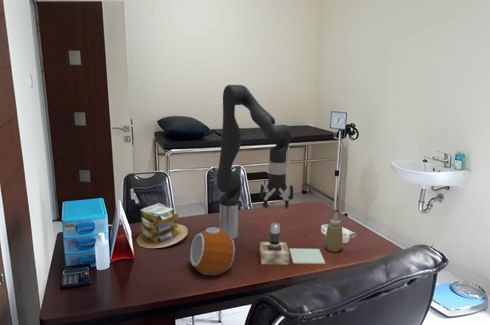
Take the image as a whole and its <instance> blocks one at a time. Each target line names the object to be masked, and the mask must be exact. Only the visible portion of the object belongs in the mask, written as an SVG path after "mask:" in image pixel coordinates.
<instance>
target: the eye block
mask: <svg viewBox="0 0 490 325" xmlns="http://www.w3.org/2000/svg"><path fill="white" fill-rule="evenodd" d="M259 256H260V264H261V265H286V266H287V265H290V250H289V247H288V244H287V242H284V241H280V243H279V251H270V241H260V242H259Z"/></svg>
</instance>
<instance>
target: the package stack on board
mask: <svg viewBox="0 0 490 325" xmlns="http://www.w3.org/2000/svg"><path fill="white" fill-rule="evenodd" d="M140 214H141V217H140V221H141V223H142V224H143V225H141V227H140V228H141V233H140V234H139V235H138V236H137V238H136V243H137V244H138V245H139V246H140V247H143V248H147V249H158V248H159V249H160V248H165V247H166V248H167V247H169V246H172V245H174V244H177V243H179V242H181V241H182V240H183V239H185V237H187V235H188V233H189V231H188V228H187V227H186V226H185V225H182V224H179V223H178V220H177V219H178V218H179V214H178V212H177V211H175V209H174V207H169V206H168V205H165V204H162V203H160V202H159V203H155V204H151V205H149V206H144V207H143V208H141V209H140Z"/></svg>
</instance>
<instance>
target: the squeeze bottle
mask: <svg viewBox="0 0 490 325" xmlns="http://www.w3.org/2000/svg"><path fill="white" fill-rule="evenodd" d="M327 225H328V228H327V234H326V236H325V240H324V243H325V246H326V249H327V250H328V251H329V252H332V253H333V252H335V253H337V252H340V250H341V248H342V246H343V240H342V227H343V226H342V224H341V220H339V216H338V213H337V212H334V215H333V218H331V219H330V223H328V224H327Z"/></svg>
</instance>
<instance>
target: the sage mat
mask: <svg viewBox="0 0 490 325" xmlns="http://www.w3.org/2000/svg"><path fill="white" fill-rule="evenodd" d="M288 250H289V255H290V256H291V260H292V264H293V265H294V264H297V265H298V264H299V265H300V264H303V265H326V262H325V258H324V257H323V254H322V252H321V250H320V248H289V247H288Z"/></svg>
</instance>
